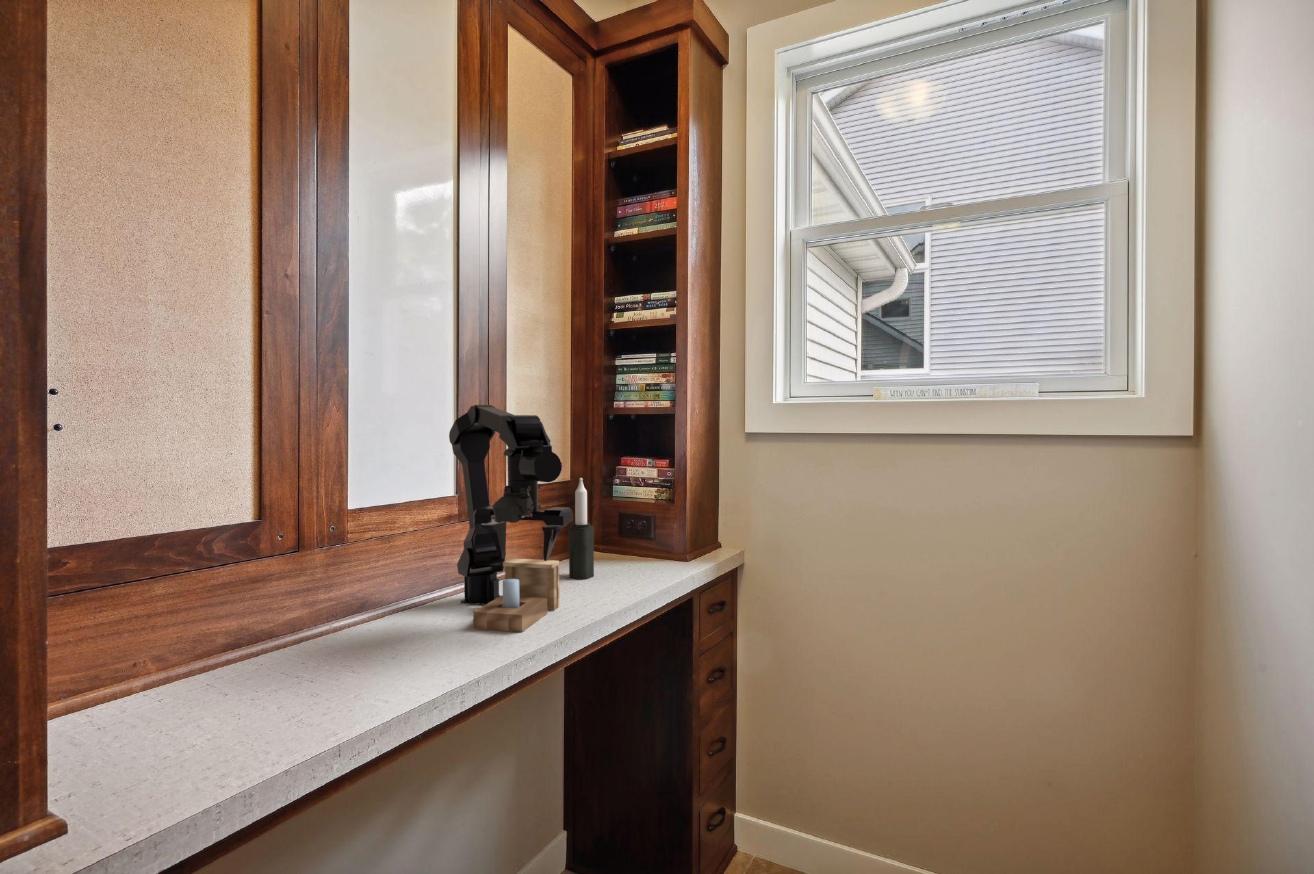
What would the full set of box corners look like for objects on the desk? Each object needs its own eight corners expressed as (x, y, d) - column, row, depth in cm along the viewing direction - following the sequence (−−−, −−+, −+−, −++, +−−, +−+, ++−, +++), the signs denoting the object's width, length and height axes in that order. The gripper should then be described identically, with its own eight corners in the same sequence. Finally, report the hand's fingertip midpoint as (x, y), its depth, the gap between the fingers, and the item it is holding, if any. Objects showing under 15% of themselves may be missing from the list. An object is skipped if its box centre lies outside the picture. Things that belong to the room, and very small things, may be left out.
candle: (567, 577, 167) (566, 478, 167) (578, 573, 172) (578, 476, 171) (584, 580, 165) (583, 479, 164) (595, 575, 169) (595, 477, 169)
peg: (500, 622, 130) (499, 582, 130) (507, 618, 134) (507, 578, 133) (515, 624, 130) (514, 583, 129) (522, 619, 133) (522, 579, 133)
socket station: (471, 628, 127) (470, 577, 127) (511, 603, 144) (511, 558, 144) (524, 632, 125) (524, 580, 124) (559, 606, 142) (559, 560, 141)
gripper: (457, 482, 124) (458, 566, 124) (551, 483, 119) (552, 570, 120) (486, 478, 135) (488, 555, 135) (573, 478, 130) (574, 558, 131)
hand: (524, 559), depth 130 cm, fingers open, 9 cm apart
